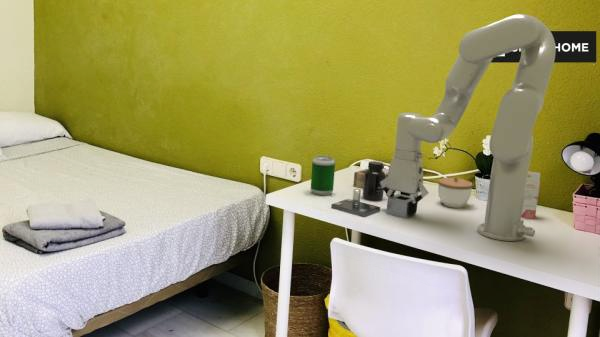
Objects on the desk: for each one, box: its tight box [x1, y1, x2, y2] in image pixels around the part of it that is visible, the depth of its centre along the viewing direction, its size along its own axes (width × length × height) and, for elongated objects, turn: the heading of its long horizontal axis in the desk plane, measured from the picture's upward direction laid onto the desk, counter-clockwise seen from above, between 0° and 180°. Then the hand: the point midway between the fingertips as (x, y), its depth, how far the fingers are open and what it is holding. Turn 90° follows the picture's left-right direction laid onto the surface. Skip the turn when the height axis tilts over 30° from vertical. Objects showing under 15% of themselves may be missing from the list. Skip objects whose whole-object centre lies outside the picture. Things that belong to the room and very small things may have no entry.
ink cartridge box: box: [521, 171, 541, 220], centre depth 188 cm, size 9×5×15 cm, turn 68°
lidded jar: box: [437, 176, 473, 209], centre depth 196 cm, size 11×11×9 cm
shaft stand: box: [330, 188, 381, 218], centre depth 185 cm, size 12×9×6 cm
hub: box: [385, 193, 417, 220], centre depth 183 cm, size 7×7×5 cm
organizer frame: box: [352, 163, 390, 189], centre depth 217 cm, size 9×20×5 cm, turn 142°
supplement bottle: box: [362, 160, 385, 202], centre depth 197 cm, size 7×7×12 cm
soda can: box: [310, 155, 336, 196], centre depth 200 cm, size 8×8×12 cm
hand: (401, 211), depth 184 cm, fingers closed on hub, 6 cm apart
